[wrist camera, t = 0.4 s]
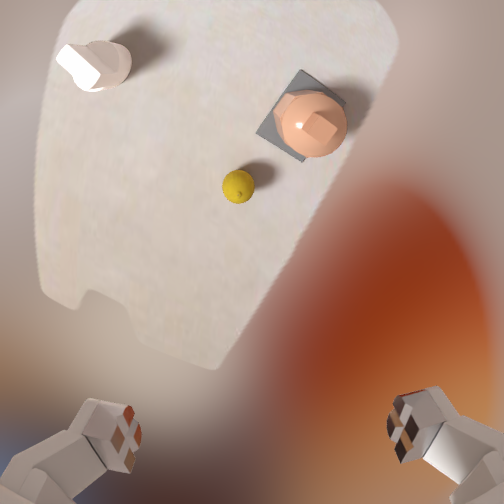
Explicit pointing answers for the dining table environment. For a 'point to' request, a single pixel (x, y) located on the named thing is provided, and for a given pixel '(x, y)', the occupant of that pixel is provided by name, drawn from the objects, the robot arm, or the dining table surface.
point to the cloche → (310, 122)
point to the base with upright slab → (96, 64)
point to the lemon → (238, 186)
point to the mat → (269, 125)
